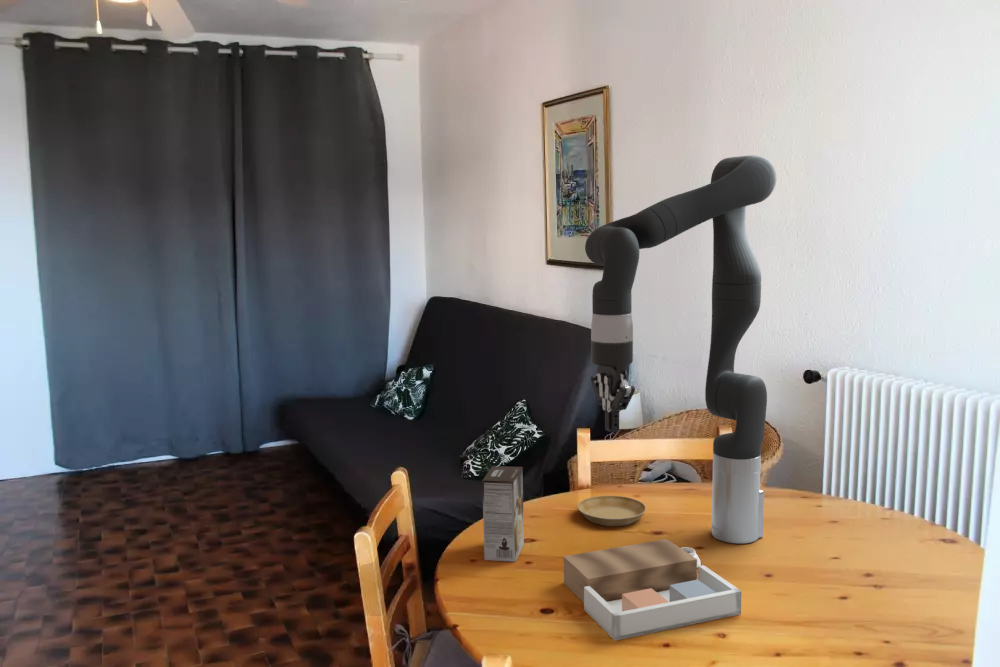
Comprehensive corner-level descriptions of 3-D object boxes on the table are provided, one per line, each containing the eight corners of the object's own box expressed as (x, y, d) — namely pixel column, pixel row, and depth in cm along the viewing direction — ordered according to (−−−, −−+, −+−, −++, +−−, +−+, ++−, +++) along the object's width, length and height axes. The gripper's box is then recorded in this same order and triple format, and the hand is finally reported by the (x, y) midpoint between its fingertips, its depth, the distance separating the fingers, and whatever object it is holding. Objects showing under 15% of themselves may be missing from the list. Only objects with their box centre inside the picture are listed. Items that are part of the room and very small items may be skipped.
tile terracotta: (669, 602, 134) (669, 619, 135) (651, 588, 139) (651, 605, 140) (639, 608, 132) (639, 626, 133) (622, 594, 138) (622, 611, 138)
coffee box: (493, 542, 169) (491, 464, 167) (524, 543, 168) (523, 466, 166) (483, 560, 160) (481, 479, 158) (516, 562, 159) (515, 480, 157)
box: (702, 586, 148) (703, 564, 147) (740, 614, 137) (741, 591, 137) (584, 609, 140) (584, 586, 139) (614, 640, 130) (615, 616, 129)
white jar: (679, 572, 154) (705, 569, 155) (679, 557, 154) (705, 554, 155) (668, 561, 159) (693, 558, 160) (669, 546, 159) (694, 544, 159)
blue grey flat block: (717, 592, 137) (716, 610, 138) (697, 579, 142) (697, 596, 143) (688, 598, 135) (687, 616, 136) (669, 585, 140) (669, 602, 141)
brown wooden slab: (666, 564, 157) (666, 538, 156) (696, 586, 148) (696, 559, 147) (563, 583, 150) (563, 556, 149) (588, 607, 141) (588, 578, 140)
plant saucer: (581, 504, 191) (581, 493, 190) (647, 507, 188) (647, 496, 187) (573, 528, 176) (573, 516, 176) (645, 532, 173) (645, 520, 173)
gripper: (649, 341, 148) (648, 437, 151) (612, 331, 160) (612, 420, 163) (611, 344, 145) (611, 442, 148) (577, 334, 158) (577, 424, 160)
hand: (612, 430), depth 155 cm, fingers closed
